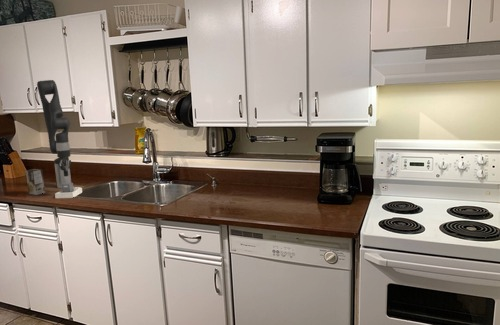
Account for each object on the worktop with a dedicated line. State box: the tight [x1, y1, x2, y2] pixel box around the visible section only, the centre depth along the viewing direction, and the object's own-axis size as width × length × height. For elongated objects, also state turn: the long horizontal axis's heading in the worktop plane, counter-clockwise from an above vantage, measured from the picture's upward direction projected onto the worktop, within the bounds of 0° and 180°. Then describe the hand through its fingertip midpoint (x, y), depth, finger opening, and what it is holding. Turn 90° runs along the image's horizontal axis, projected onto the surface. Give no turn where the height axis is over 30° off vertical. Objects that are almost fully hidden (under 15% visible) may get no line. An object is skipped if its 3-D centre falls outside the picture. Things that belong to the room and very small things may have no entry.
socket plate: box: [54, 186, 83, 199], centre depth 242 cm, size 14×11×4 cm
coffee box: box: [25, 168, 46, 196], centre depth 248 cm, size 9×6×16 cm
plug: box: [61, 182, 74, 193], centre depth 241 cm, size 5×5×7 cm
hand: (66, 176), depth 239 cm, fingers closed
